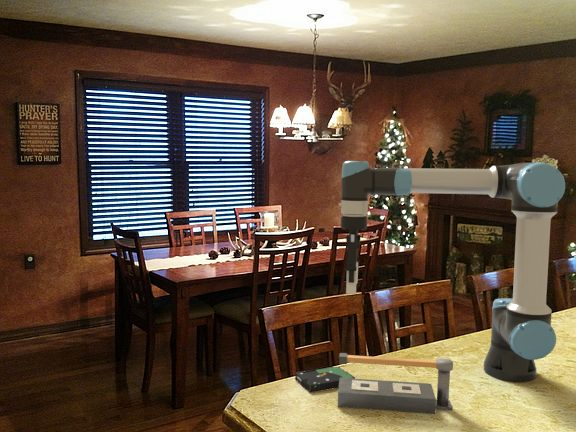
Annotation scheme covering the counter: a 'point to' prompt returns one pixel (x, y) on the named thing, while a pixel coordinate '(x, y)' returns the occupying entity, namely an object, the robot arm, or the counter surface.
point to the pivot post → (443, 391)
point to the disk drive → (321, 378)
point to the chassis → (386, 395)
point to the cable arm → (397, 361)
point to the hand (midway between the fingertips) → (352, 288)
